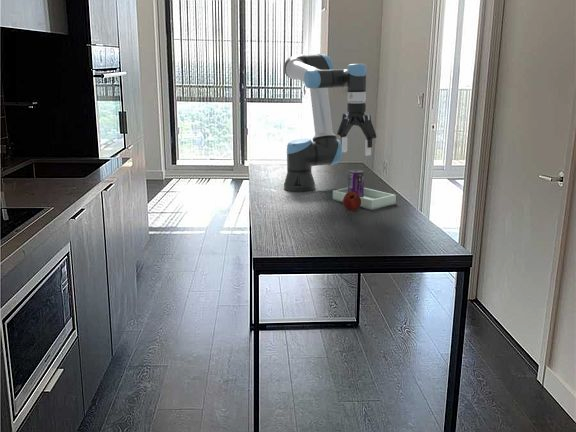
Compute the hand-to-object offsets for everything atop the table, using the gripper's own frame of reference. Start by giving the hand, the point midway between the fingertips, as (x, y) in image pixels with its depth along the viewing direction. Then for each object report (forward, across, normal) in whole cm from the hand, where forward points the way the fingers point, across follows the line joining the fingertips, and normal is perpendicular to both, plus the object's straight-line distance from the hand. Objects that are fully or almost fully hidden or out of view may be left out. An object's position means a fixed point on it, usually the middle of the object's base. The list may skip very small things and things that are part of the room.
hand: (356, 153), depth 237 cm
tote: (+21, +1, +4) cm, 22 cm away
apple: (+22, +7, -10) cm, 25 cm away
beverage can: (+21, -5, +5) cm, 22 cm away
